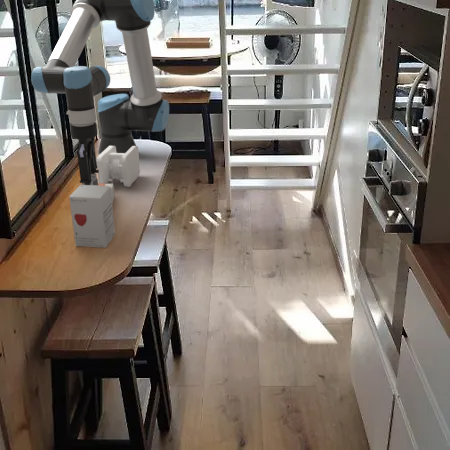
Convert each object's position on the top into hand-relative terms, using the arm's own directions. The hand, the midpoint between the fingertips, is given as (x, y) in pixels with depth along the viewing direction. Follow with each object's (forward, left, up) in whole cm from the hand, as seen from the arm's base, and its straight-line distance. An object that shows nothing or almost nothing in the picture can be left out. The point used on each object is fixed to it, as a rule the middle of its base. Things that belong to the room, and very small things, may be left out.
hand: (92, 198), depth 183 cm
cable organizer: (-17, -22, -6) cm, 29 cm away
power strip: (-3, -5, -6) cm, 8 cm away
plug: (0, 0, -4) cm, 4 cm away
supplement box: (+5, +17, -6) cm, 18 cm away
